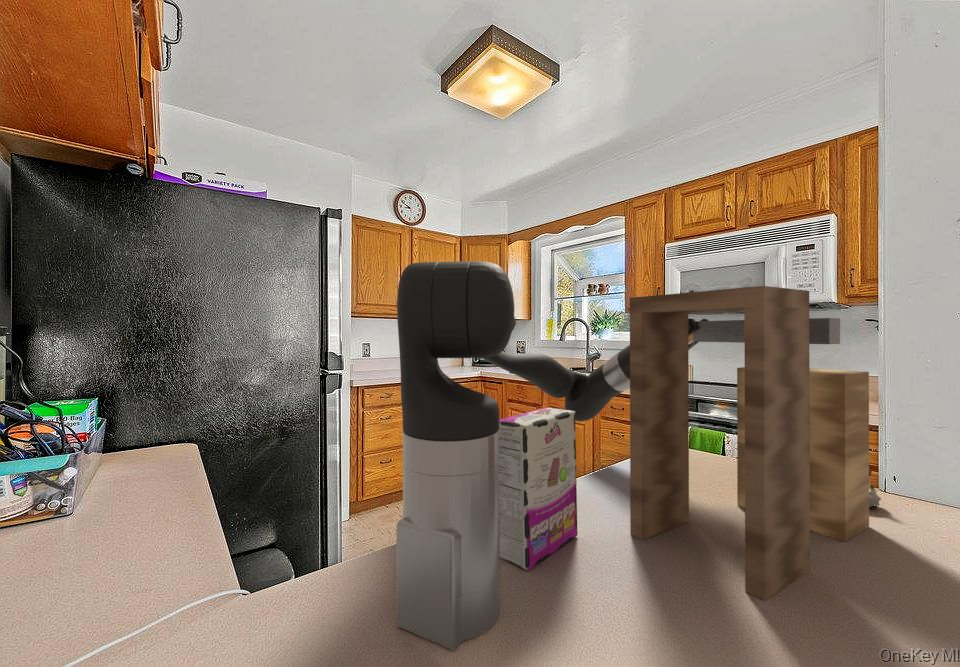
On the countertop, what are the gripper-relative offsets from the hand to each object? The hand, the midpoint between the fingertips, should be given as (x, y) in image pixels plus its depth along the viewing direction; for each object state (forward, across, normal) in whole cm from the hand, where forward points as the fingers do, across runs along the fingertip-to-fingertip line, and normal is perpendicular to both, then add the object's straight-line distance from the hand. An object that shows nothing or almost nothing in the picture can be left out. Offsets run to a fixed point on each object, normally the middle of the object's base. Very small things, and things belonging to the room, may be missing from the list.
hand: (701, 323), depth 73 cm
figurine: (+1, +12, +33) cm, 35 cm away
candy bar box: (-13, -37, +25) cm, 47 cm away
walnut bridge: (-2, -20, +31) cm, 37 cm away
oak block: (-1, 0, +31) cm, 31 cm away
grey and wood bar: (+4, 0, +6) cm, 7 cm away
